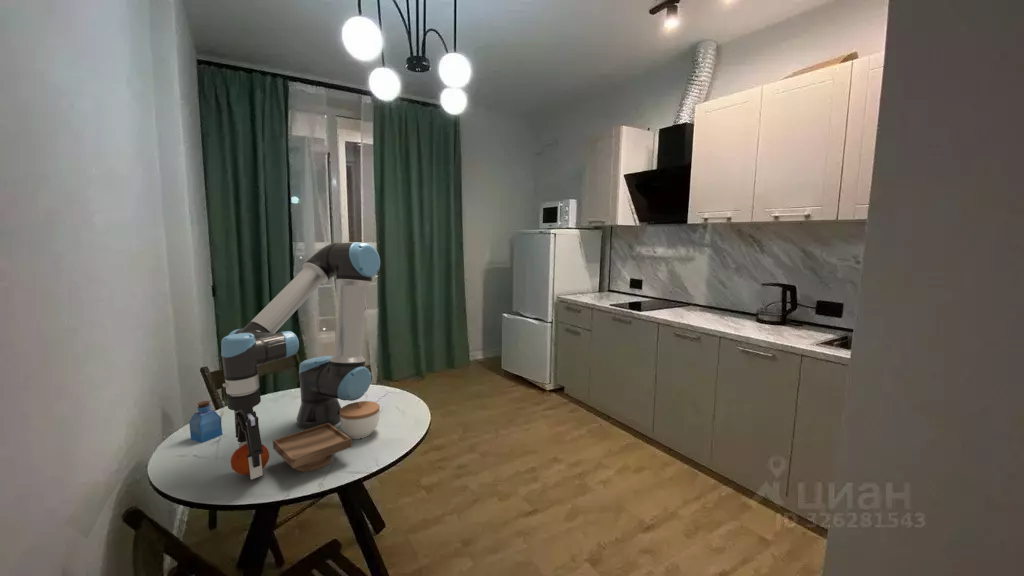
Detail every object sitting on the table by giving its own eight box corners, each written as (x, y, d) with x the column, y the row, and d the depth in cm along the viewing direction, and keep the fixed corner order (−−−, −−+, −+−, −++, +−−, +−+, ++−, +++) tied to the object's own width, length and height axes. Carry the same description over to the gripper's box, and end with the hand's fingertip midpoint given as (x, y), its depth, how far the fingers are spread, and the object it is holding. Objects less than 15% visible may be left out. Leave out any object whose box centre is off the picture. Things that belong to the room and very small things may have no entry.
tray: (274, 463, 119) (272, 440, 118) (329, 443, 130) (328, 422, 129) (294, 484, 108) (292, 459, 107) (352, 461, 119) (351, 438, 118)
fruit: (277, 467, 113) (274, 440, 112) (242, 484, 106) (239, 455, 105) (260, 458, 118) (258, 432, 117) (226, 473, 111) (223, 446, 110)
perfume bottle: (222, 435, 137) (219, 400, 136) (201, 443, 131) (198, 407, 130) (211, 431, 139) (208, 397, 138) (190, 439, 134) (187, 404, 133)
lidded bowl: (357, 446, 128) (355, 413, 127) (332, 437, 135) (330, 404, 134) (388, 431, 139) (387, 399, 138) (364, 422, 145) (363, 393, 144)
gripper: (217, 385, 114) (225, 461, 117) (237, 406, 99) (246, 492, 102) (248, 378, 119) (255, 451, 122) (271, 397, 104) (279, 479, 107)
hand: (251, 470), depth 112 cm, fingers closed on fruit, 9 cm apart
